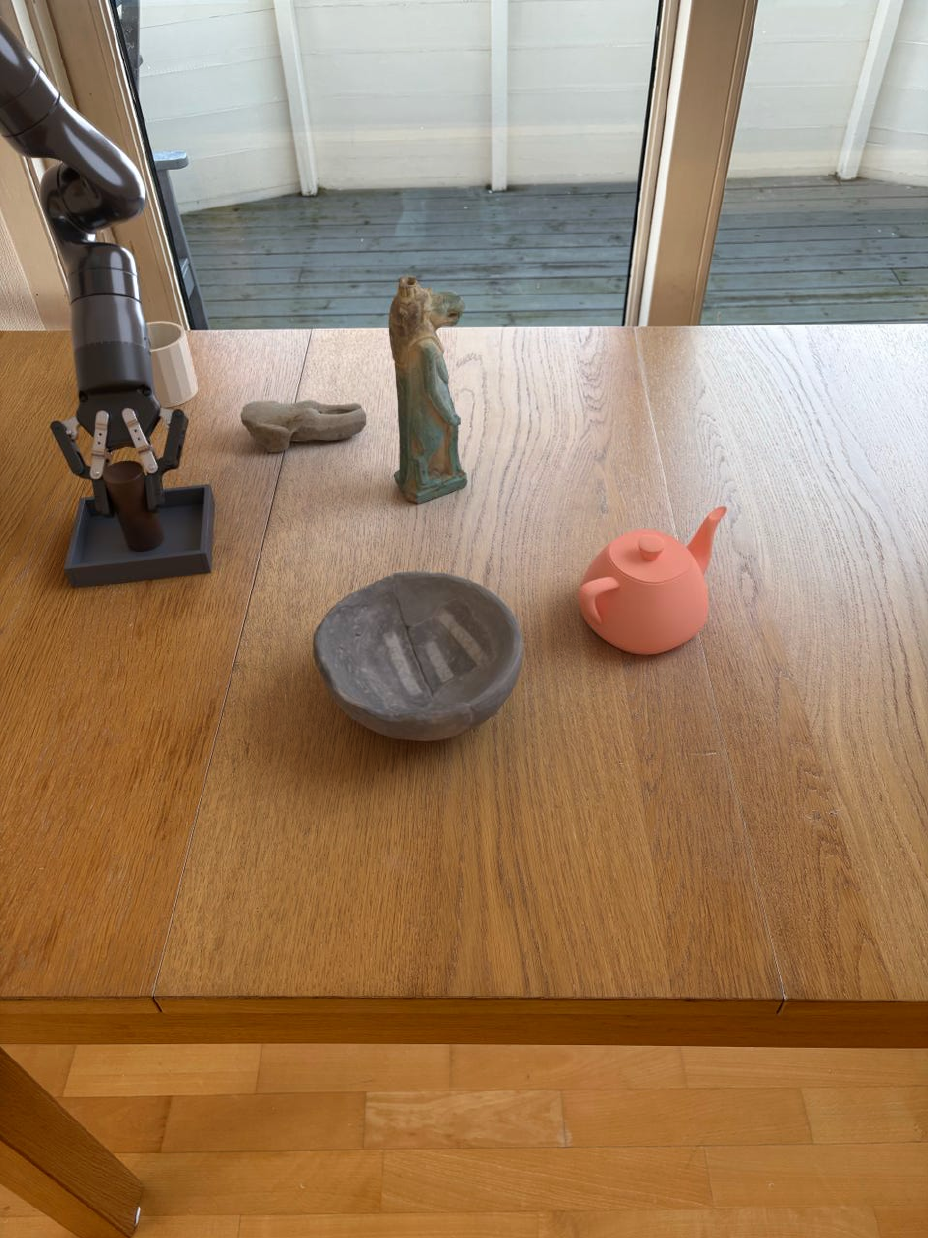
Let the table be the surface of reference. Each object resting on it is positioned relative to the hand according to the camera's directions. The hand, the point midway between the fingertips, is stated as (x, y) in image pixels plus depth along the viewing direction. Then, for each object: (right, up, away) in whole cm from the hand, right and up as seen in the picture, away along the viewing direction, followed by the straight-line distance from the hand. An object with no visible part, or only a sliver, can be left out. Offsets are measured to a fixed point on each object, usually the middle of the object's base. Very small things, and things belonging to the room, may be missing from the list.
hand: (131, 513), depth 98 cm
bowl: (+31, -18, -11) cm, 37 cm away
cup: (-5, +19, +28) cm, 34 cm away
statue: (+31, +5, +12) cm, 33 cm away
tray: (0, -3, +5) cm, 6 cm away
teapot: (+52, -10, -4) cm, 53 cm away
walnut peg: (0, -2, +5) cm, 5 cm away
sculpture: (+15, +12, +20) cm, 28 cm away
